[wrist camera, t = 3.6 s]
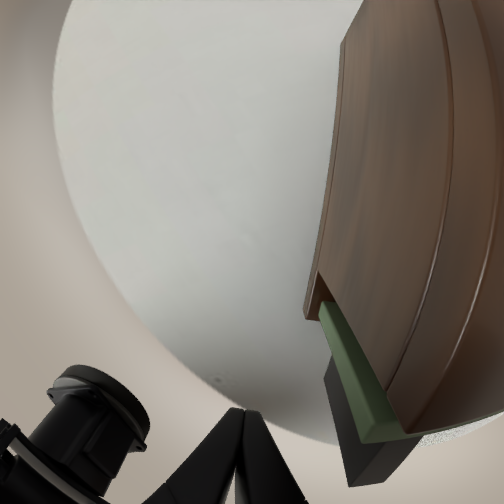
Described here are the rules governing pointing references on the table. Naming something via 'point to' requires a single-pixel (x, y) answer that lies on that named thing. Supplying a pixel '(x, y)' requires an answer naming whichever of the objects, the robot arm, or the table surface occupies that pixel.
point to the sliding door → (362, 407)
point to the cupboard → (420, 206)
